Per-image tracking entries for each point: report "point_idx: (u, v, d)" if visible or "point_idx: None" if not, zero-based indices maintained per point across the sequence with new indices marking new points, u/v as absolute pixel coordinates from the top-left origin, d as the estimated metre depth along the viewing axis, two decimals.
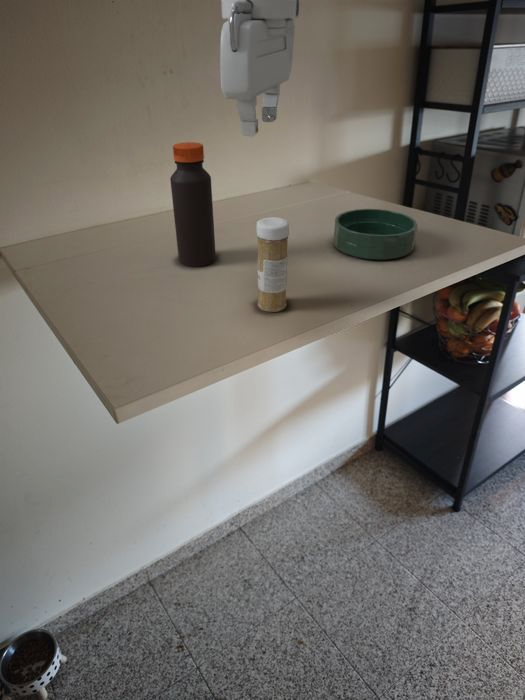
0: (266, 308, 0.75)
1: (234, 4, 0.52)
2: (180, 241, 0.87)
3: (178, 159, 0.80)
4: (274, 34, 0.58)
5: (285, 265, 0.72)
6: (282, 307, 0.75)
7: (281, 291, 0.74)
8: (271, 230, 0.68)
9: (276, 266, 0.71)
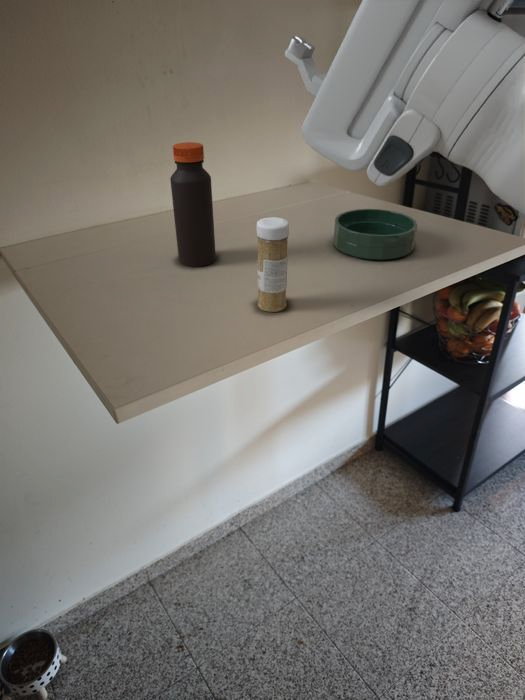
0: (266, 308, 0.75)
1: None
2: (180, 241, 0.87)
3: (178, 159, 0.80)
4: (429, 33, 0.35)
5: (285, 265, 0.72)
6: (282, 307, 0.75)
7: (281, 291, 0.74)
8: (271, 230, 0.68)
9: (276, 266, 0.71)
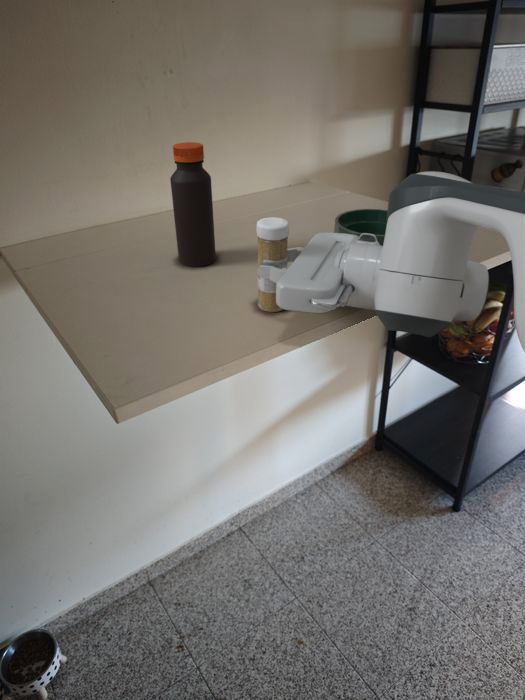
0: (266, 308, 0.75)
1: (343, 303, 0.62)
2: (180, 241, 0.87)
3: (178, 159, 0.80)
4: None
5: (285, 265, 0.72)
6: None
7: None
8: (271, 231, 0.68)
9: (276, 266, 0.71)
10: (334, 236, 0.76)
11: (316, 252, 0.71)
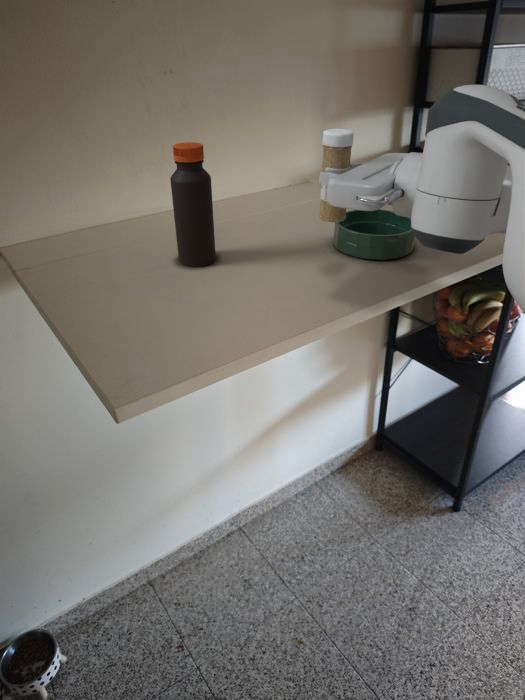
0: (325, 218, 0.80)
1: (388, 200, 0.65)
2: (180, 241, 0.87)
3: (178, 159, 0.80)
4: None
5: None
6: (340, 218, 0.80)
7: None
8: (334, 137, 0.73)
9: None
10: (401, 156, 0.79)
11: (377, 164, 0.75)
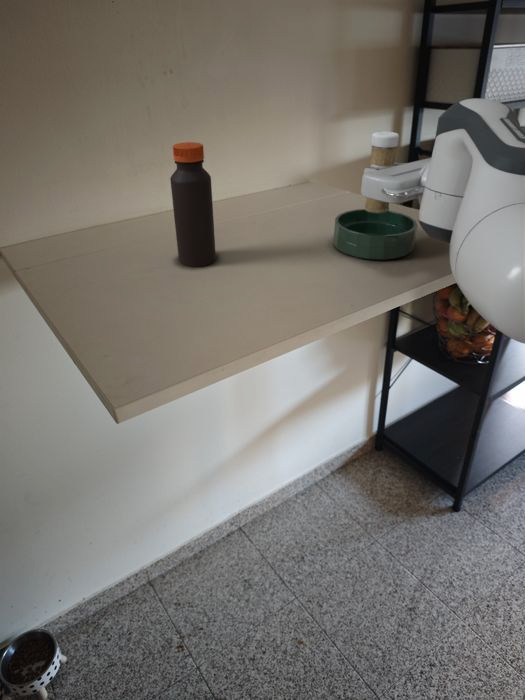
0: (368, 209, 0.91)
1: (407, 195, 0.76)
2: (180, 241, 0.87)
3: (178, 159, 0.80)
4: (417, 198, 0.83)
5: None
6: (381, 210, 0.91)
7: None
8: (379, 138, 0.84)
9: None
10: None
11: (416, 165, 0.85)
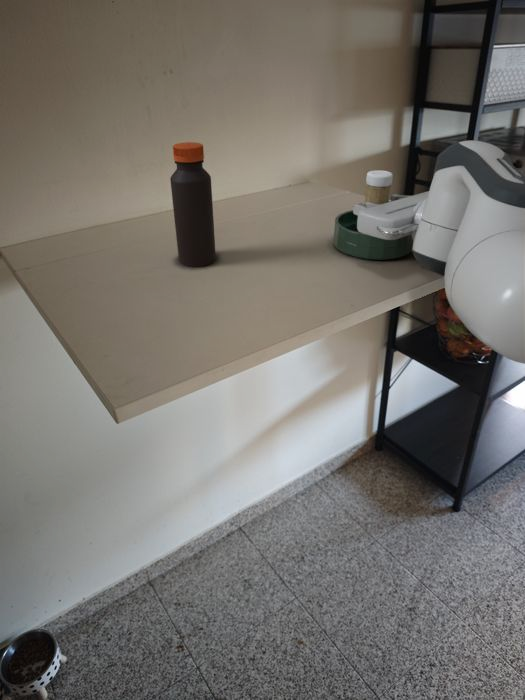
0: None
1: (400, 233, 0.79)
2: (180, 241, 0.87)
3: (178, 159, 0.80)
4: None
5: None
6: None
7: None
8: (373, 178, 0.88)
9: None
10: None
11: (411, 201, 0.88)
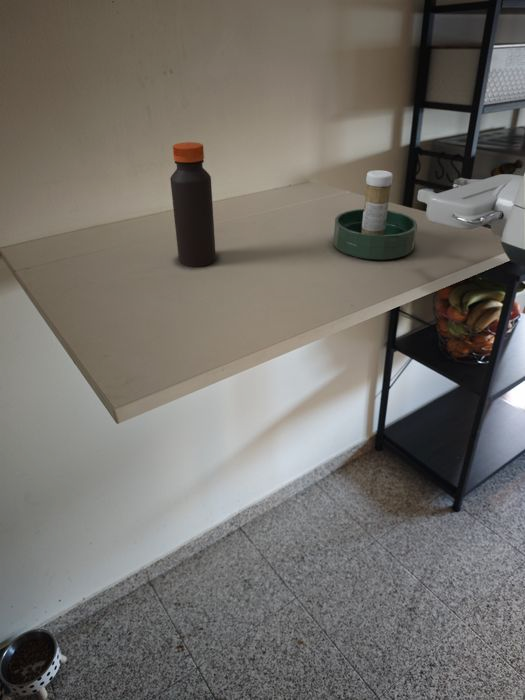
0: None
1: (483, 221, 0.68)
2: (180, 241, 0.87)
3: (178, 159, 0.80)
4: (487, 222, 0.75)
5: (383, 210, 0.91)
6: None
7: (377, 231, 0.93)
8: (373, 178, 0.88)
9: (374, 208, 0.90)
10: (514, 178, 0.79)
11: (485, 184, 0.77)
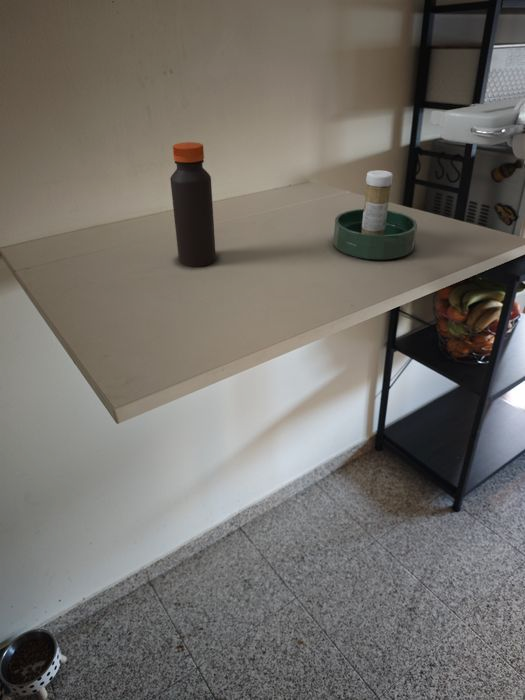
0: None
1: (505, 132, 0.62)
2: (180, 241, 0.87)
3: (178, 159, 0.80)
4: (507, 143, 0.68)
5: (383, 210, 0.91)
6: None
7: (377, 231, 0.93)
8: (373, 178, 0.88)
9: (374, 208, 0.90)
10: None
11: (505, 104, 0.70)
